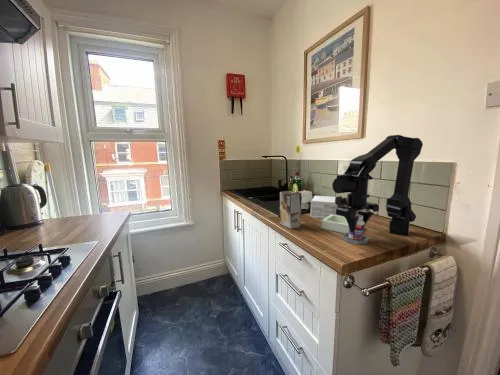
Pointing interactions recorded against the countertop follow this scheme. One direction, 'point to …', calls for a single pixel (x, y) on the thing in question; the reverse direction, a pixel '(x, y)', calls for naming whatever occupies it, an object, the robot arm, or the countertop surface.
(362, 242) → the collar
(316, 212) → the supplement box
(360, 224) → the pill bottle
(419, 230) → the countertop surface
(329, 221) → the bin
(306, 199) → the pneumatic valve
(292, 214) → the coffee box
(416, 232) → the countertop surface
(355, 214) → the robot arm
